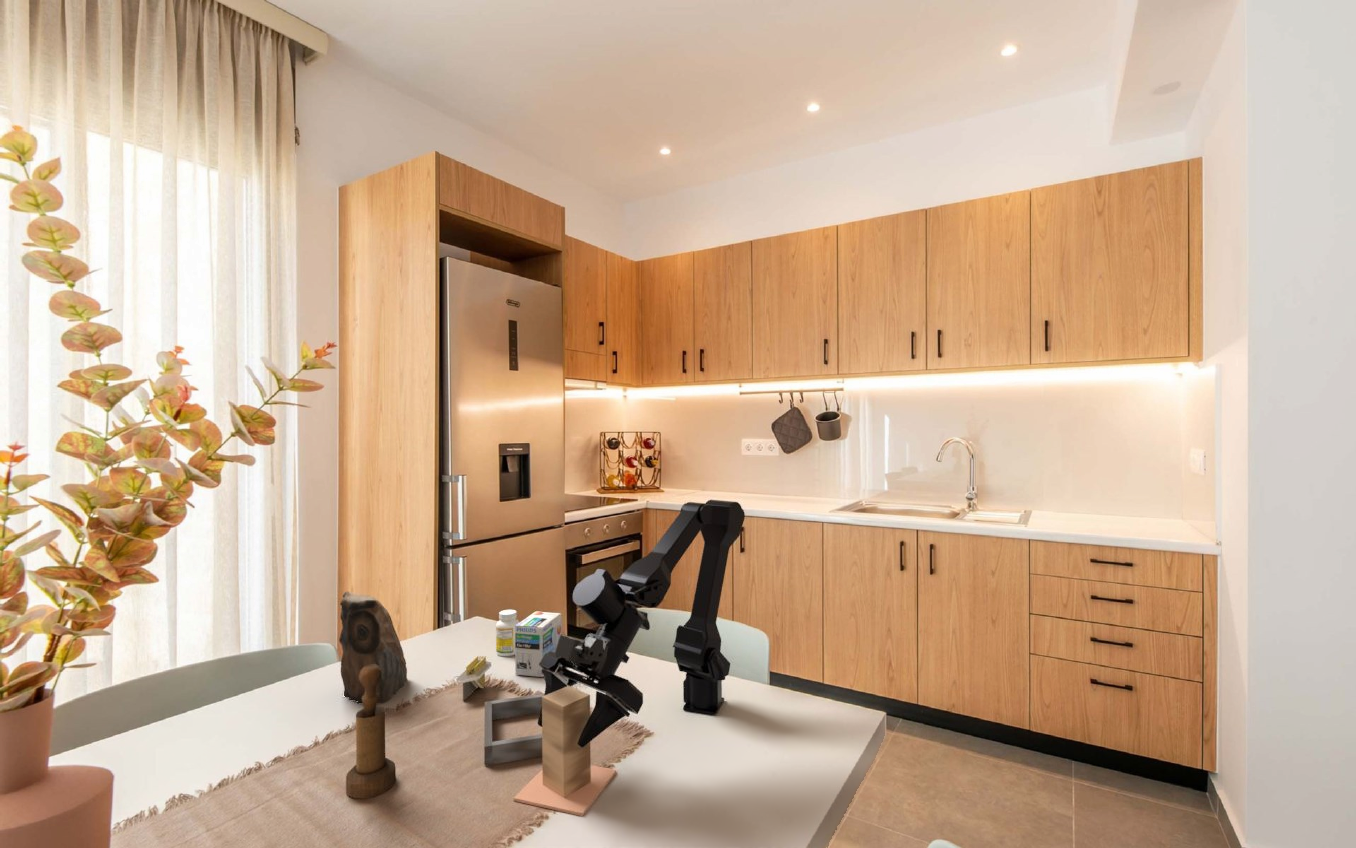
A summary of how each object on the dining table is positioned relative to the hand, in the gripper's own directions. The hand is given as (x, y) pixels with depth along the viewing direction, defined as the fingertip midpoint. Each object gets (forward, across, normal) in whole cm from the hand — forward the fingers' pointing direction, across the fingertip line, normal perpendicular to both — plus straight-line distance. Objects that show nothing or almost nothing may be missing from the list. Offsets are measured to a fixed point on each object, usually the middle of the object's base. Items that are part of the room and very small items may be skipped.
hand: (559, 735), depth 89 cm
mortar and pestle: (+18, -23, -6) cm, 30 cm away
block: (+4, 0, +6) cm, 8 cm away
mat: (+5, 0, +7) cm, 8 cm away
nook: (+1, -18, +10) cm, 21 cm away
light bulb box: (-13, -40, +24) cm, 48 cm away
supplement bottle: (-13, -53, +25) cm, 60 cm away
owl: (+7, -56, +4) cm, 56 cm away
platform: (-1, -39, +13) cm, 42 cm away
